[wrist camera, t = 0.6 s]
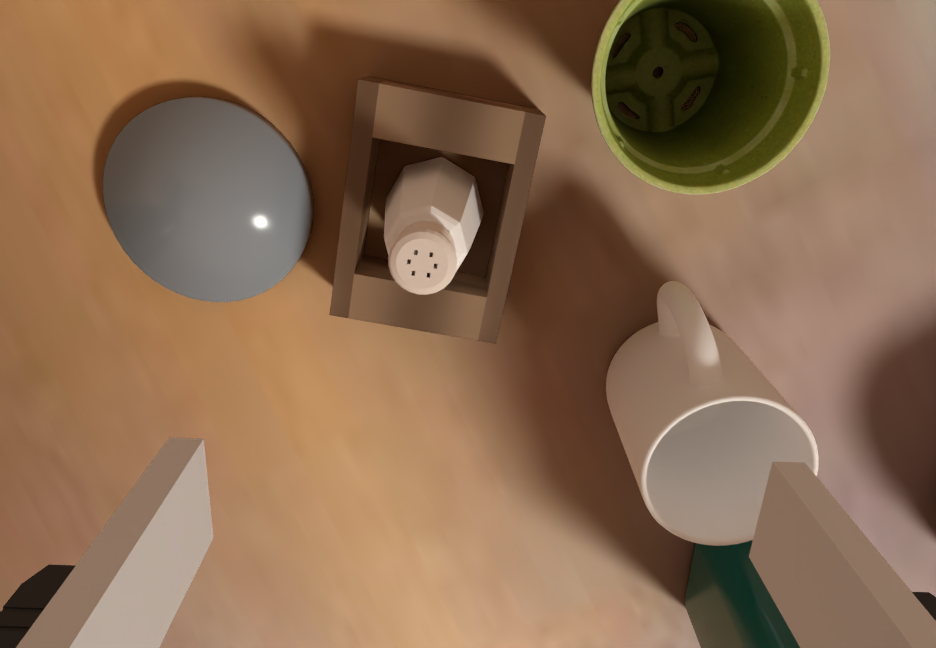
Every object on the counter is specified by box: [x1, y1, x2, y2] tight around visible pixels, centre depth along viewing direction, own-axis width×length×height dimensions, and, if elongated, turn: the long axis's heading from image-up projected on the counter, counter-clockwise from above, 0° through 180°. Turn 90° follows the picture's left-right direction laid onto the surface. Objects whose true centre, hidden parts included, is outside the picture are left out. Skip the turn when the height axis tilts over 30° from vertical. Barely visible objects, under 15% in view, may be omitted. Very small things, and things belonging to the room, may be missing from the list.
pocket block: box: [330, 76, 546, 344], centre depth 37 cm, size 9×12×4 cm
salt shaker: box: [384, 157, 484, 295], centre depth 34 cm, size 5×5×11 cm
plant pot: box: [591, 0, 830, 195], centre depth 32 cm, size 9×9×9 cm
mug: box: [606, 281, 819, 546], centre depth 37 cm, size 12×8×10 cm
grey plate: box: [103, 97, 314, 302], centre depth 38 cm, size 11×11×1 cm
